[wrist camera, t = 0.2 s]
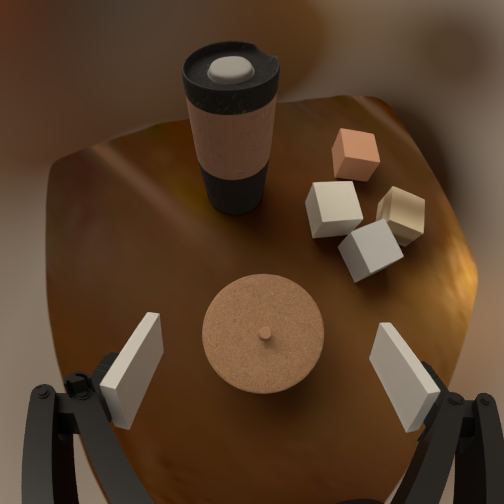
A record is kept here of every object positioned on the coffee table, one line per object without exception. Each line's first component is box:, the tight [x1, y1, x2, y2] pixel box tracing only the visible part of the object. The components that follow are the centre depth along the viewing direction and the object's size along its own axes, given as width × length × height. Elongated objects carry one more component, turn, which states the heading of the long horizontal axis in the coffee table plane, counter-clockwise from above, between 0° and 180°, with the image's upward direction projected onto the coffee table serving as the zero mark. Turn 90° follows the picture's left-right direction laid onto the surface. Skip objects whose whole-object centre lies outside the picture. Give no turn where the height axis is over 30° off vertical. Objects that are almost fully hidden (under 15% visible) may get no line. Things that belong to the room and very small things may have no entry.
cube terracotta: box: [332, 128, 380, 182], centre depth 37 cm, size 5×5×5 cm
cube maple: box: [376, 186, 425, 247], centre depth 34 cm, size 5×5×5 cm
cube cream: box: [305, 181, 363, 238], centre depth 34 cm, size 5×5×5 cm
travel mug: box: [182, 41, 280, 215], centre depth 28 cm, size 8×8×20 cm
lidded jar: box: [202, 274, 324, 394], centre depth 27 cm, size 11×11×9 cm
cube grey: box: [338, 219, 404, 283], centre depth 33 cm, size 5×5×5 cm
